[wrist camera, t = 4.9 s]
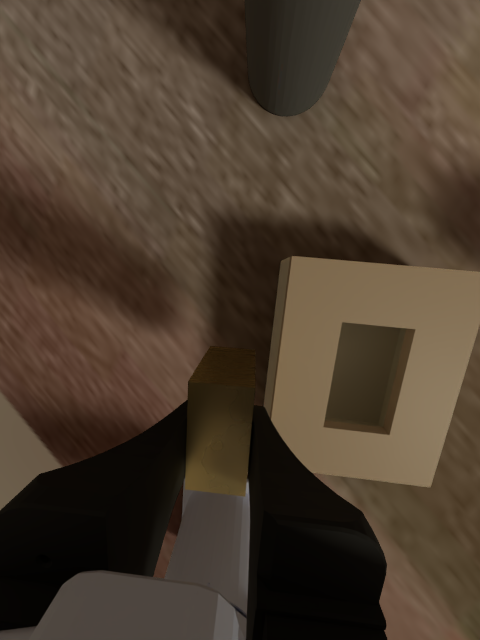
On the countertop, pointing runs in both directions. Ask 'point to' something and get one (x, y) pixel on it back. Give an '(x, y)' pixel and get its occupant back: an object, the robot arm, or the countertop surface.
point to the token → (220, 421)
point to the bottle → (294, 49)
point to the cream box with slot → (369, 364)
